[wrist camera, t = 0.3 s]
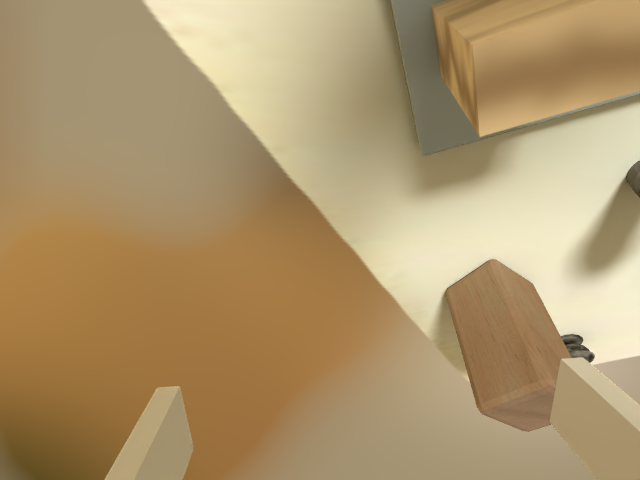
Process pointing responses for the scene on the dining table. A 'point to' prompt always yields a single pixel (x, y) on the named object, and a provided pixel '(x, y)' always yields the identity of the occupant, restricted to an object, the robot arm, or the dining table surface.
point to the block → (507, 345)
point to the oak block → (535, 56)
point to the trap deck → (438, 83)
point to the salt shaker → (577, 347)
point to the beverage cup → (634, 178)
